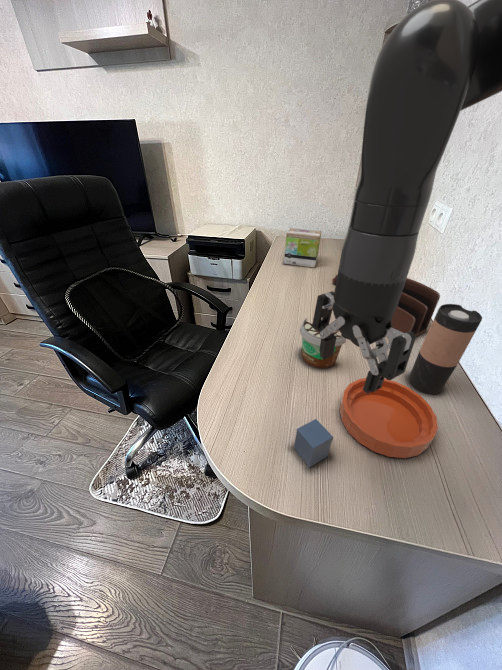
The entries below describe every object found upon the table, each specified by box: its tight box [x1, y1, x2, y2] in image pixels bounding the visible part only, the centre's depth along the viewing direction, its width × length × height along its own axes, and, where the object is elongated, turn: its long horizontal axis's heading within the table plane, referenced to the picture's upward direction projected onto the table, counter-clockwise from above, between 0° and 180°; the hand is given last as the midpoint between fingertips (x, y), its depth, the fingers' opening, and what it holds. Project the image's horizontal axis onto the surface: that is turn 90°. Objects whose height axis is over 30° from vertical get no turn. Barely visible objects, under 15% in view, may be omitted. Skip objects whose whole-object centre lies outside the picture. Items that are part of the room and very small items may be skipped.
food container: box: [299, 317, 347, 369], centre depth 71 cm, size 12×6×10 cm, turn 47°
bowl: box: [339, 377, 439, 459], centre depth 57 cm, size 18×18×4 cm
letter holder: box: [392, 277, 441, 337], centre depth 87 cm, size 10×20×14 cm, turn 31°
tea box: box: [283, 227, 322, 268], centre depth 131 cm, size 15×10×15 cm, turn 73°
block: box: [293, 418, 334, 469], centre depth 51 cm, size 4×4×6 cm
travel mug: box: [408, 303, 483, 395], centre depth 62 cm, size 8×8×20 cm
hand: (346, 372), depth 41 cm, fingers open, 8 cm apart
